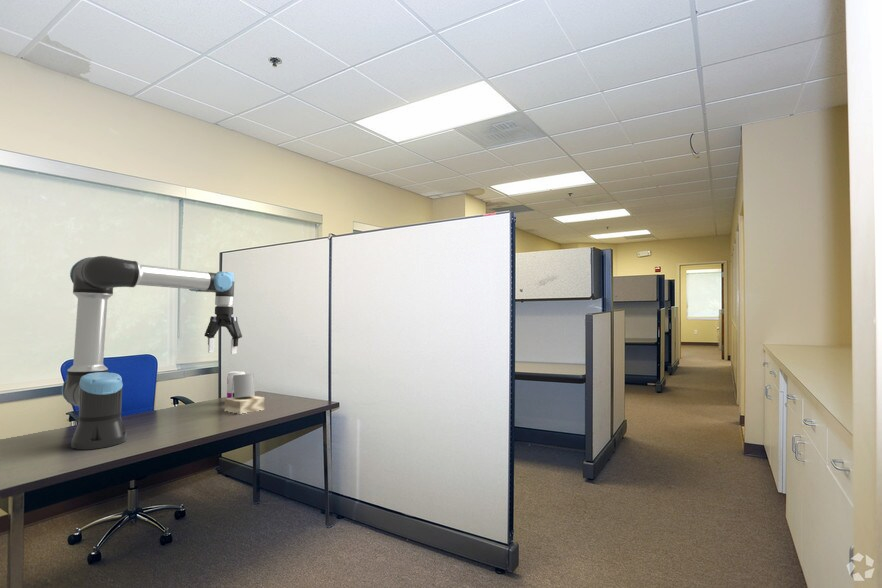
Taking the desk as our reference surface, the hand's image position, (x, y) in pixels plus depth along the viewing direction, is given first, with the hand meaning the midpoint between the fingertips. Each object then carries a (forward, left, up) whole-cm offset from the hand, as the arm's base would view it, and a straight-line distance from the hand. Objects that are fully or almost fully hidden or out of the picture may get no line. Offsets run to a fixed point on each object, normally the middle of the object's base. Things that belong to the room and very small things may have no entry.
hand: (222, 353), depth 204 cm
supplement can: (+16, +8, -26) cm, 32 cm away
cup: (+5, -8, -20) cm, 22 cm away
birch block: (+5, -8, -26) cm, 28 cm away
